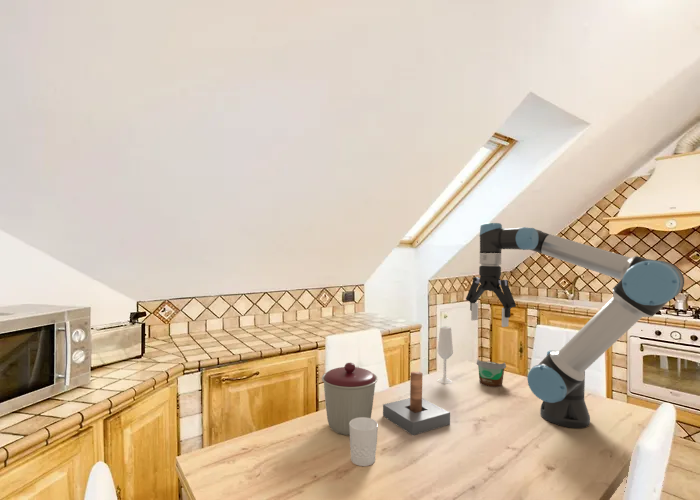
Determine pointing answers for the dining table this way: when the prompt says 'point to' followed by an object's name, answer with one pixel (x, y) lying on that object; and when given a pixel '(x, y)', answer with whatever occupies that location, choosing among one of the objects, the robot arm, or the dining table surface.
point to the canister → (348, 395)
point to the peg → (416, 392)
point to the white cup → (363, 440)
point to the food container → (491, 373)
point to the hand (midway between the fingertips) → (489, 323)
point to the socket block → (416, 416)
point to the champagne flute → (445, 350)
